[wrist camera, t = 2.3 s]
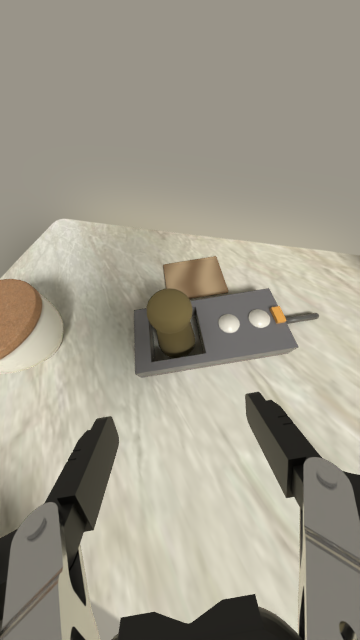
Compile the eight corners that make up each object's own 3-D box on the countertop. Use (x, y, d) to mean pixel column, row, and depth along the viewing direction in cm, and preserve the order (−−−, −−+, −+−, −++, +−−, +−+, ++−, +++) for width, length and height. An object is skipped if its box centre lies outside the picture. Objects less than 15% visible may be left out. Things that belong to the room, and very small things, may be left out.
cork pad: (215, 258, 35) (216, 256, 35) (227, 292, 31) (228, 290, 30) (163, 266, 35) (163, 264, 34) (168, 302, 31) (168, 300, 30)
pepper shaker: (159, 323, 29) (142, 280, 19) (195, 323, 28) (195, 278, 19) (156, 358, 26) (135, 328, 16) (195, 358, 26) (197, 328, 16)
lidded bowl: (86, 355, 27) (26, 326, 17) (4, 397, 25) (-117, 391, 15) (70, 300, 33) (18, 254, 23) (2, 330, 31) (-87, 294, 21)
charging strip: (301, 292, 30) (314, 278, 27) (333, 345, 25) (353, 336, 22) (139, 319, 30) (132, 308, 26) (141, 377, 25) (133, 373, 22)
